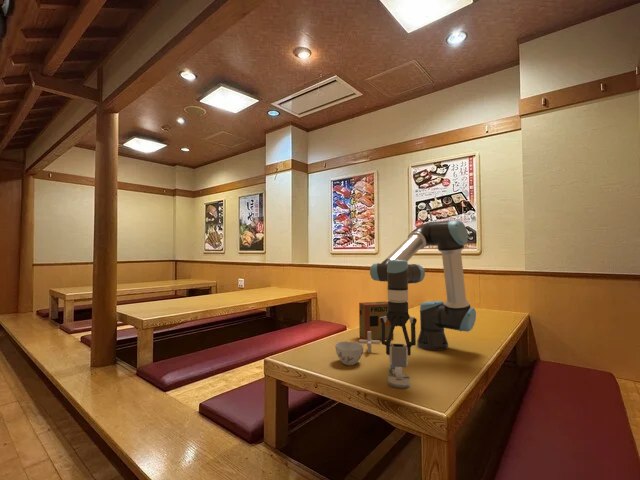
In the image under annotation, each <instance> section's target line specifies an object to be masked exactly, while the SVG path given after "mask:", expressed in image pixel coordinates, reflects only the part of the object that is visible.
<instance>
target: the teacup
mask: <svg viewBox="0 0 640 480" xmlns="http://www.w3.org/2000/svg"><path fill="white" fill-rule="evenodd" d="M334 346H335V352H336V353H335V354H336V355H337V358H338V359H339V360H340V362H341V363H342V364H343V365H347V366H353V365H354V366H355V365H356V364H357V363H358V362H359V361H360V359H361V357H362V356H363V353H364V345H363V343H359V342H357V341H339V342H337V343H335V345H334Z"/></svg>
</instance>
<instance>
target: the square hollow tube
mask: <svg viewBox="0 0 640 480" xmlns="http://www.w3.org/2000/svg"><path fill="white" fill-rule="evenodd" d="M390 345H391V346H392V367H402V368H407V365H406V347H405V345H406V344H405V343H392V342H391V343H390Z"/></svg>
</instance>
